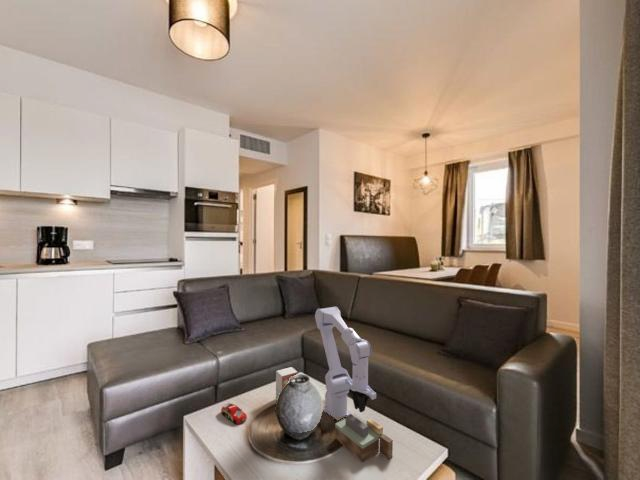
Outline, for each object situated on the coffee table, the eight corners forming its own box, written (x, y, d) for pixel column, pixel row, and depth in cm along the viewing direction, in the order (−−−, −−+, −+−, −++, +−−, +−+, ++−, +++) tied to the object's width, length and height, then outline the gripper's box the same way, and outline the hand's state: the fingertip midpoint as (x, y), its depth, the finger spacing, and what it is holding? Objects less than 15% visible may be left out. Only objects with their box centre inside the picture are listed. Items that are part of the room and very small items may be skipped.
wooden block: (366, 425, 109) (366, 420, 109) (370, 423, 111) (370, 418, 110) (379, 434, 105) (379, 428, 105) (382, 432, 106) (382, 426, 106)
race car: (249, 421, 122) (249, 411, 122) (237, 427, 118) (237, 417, 118) (231, 408, 130) (231, 398, 130) (219, 413, 126) (219, 404, 126)
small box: (281, 405, 132) (281, 376, 132) (275, 398, 137) (275, 370, 137) (297, 400, 136) (298, 371, 136) (291, 393, 142) (291, 366, 141)
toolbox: (335, 438, 111) (335, 423, 111) (354, 428, 117) (355, 413, 117) (371, 470, 97) (372, 452, 96) (392, 456, 103) (392, 440, 102)
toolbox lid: (335, 429, 111) (335, 415, 111) (355, 419, 117) (355, 406, 117) (362, 451, 100) (362, 436, 100) (382, 439, 106) (383, 424, 106)
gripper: (339, 369, 116) (339, 404, 117) (366, 385, 105) (366, 423, 105) (352, 364, 121) (352, 398, 121) (380, 379, 109) (379, 416, 110)
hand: (359, 409), depth 113 cm, fingers closed
